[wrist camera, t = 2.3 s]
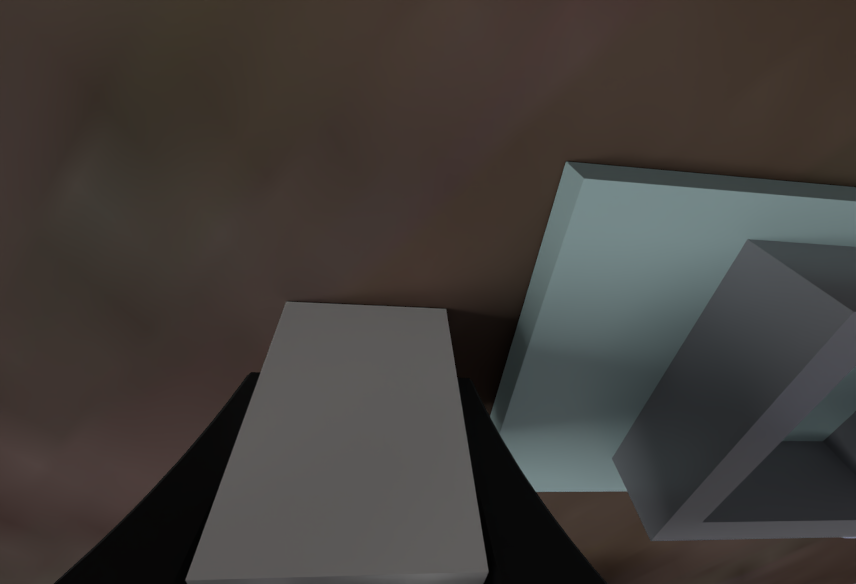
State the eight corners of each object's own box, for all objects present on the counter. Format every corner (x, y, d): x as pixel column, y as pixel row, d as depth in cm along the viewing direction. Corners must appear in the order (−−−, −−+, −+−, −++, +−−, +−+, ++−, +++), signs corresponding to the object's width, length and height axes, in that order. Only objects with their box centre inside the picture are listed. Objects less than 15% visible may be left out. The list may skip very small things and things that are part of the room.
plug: (445, 308, 11) (513, 725, 5) (429, 409, 13) (459, 776, 7) (286, 301, 10) (121, 754, 4) (298, 407, 12) (204, 798, 6)
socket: (1172, 215, 10) (1468, 297, 8) (862, 465, 17) (959, 562, 14) (566, 161, 9) (650, 242, 6) (475, 465, 15) (494, 575, 12)
